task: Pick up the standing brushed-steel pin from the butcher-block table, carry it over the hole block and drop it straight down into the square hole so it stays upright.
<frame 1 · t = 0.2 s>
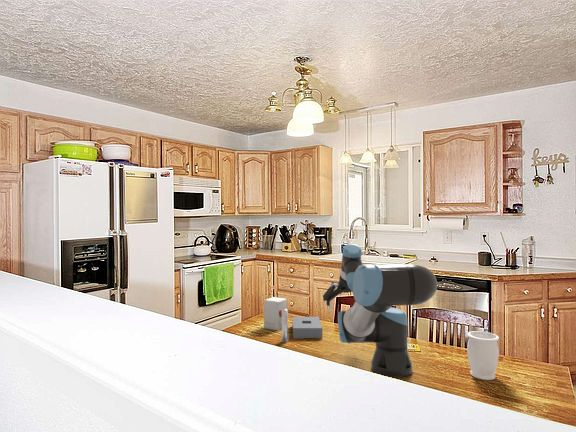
hand: (343, 309, 173), 16 cm above the table, tool tilted 35°, fingers open, 13 cm apart
jar: (482, 376, 138), on the table
hole block: (306, 332, 190), on the table
supplement box: (275, 327, 198), on the table
steel pin: (284, 341, 176), on the table
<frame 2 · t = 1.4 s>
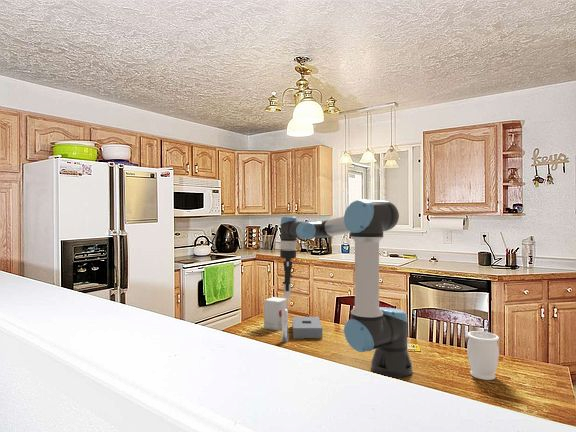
hand: (287, 294, 176), 22 cm above the table, tool pointing down, fingers open, 13 cm apart
nothing on the table moved.
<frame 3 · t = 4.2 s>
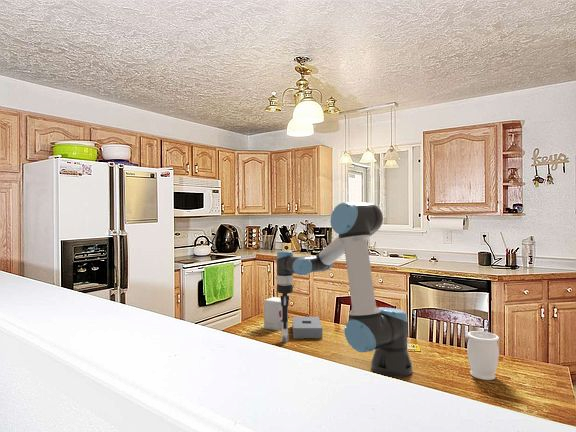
hand: (284, 333, 176), 4 cm above the table, tool pointing down, fingers closed on steel pin, 3 cm apart
steel pin: (284, 341, 176), on the table, touching gripper
everything else where it was.
when the fingers open (6 cm above the table, at t = 9.5 s): steel pin drops 3 cm, resting in hole block.
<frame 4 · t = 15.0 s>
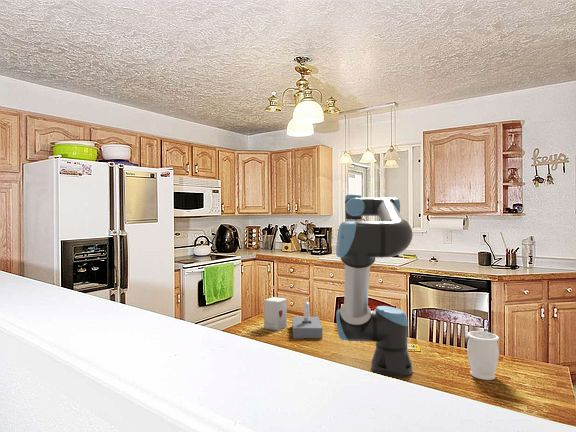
hand: (353, 276, 169), 32 cm above the table, tool pointing down, fingers open, 13 cm apart
steel pin: (306, 332, 190), resting in hole block
everything else where it was.
at the end: steel pin 0.0 cm off-centre on the hole block, point 0.0 cm above the hole block's base; steel pin tilted 0°; the gripper is holding nothing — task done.
